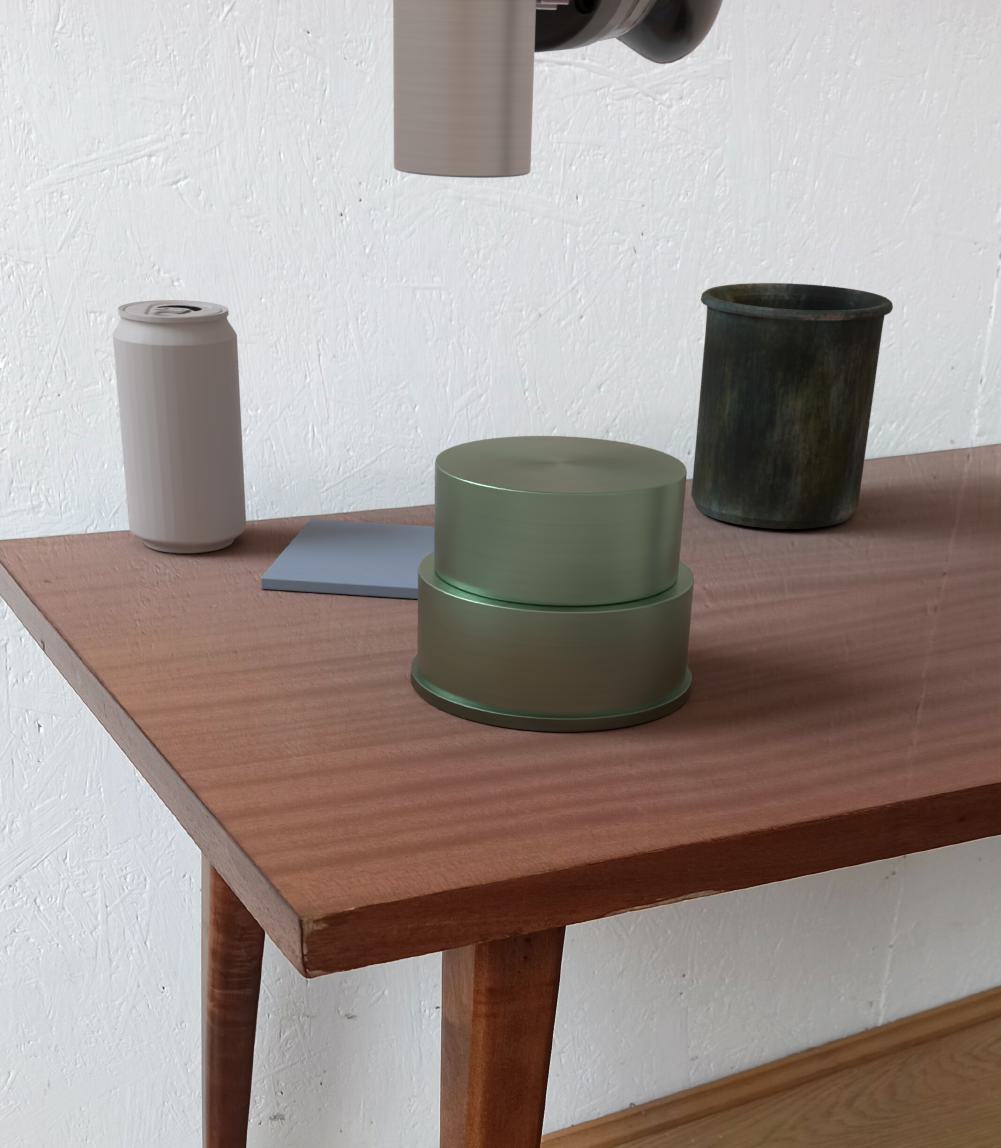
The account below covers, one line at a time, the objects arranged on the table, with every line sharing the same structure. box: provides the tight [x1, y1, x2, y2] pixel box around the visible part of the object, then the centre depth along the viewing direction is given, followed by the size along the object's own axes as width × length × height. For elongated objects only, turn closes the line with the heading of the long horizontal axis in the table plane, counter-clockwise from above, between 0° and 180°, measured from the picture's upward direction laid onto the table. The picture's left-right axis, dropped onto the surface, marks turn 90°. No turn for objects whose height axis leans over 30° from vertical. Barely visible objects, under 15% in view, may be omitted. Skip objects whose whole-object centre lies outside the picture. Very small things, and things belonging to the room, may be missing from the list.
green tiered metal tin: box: [410, 435, 695, 733], centre depth 75 cm, size 13×13×10 cm
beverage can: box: [112, 299, 247, 554], centre depth 92 cm, size 6×6×12 cm
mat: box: [260, 518, 434, 600], centre depth 93 cm, size 12×12×1 cm
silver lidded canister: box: [392, 0, 536, 179], centre depth 73 cm, size 6×6×10 cm
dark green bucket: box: [690, 282, 894, 530], centre depth 103 cm, size 11×15×12 cm
